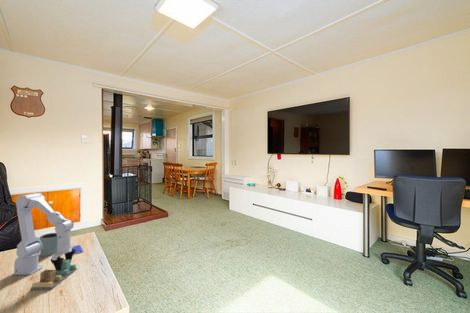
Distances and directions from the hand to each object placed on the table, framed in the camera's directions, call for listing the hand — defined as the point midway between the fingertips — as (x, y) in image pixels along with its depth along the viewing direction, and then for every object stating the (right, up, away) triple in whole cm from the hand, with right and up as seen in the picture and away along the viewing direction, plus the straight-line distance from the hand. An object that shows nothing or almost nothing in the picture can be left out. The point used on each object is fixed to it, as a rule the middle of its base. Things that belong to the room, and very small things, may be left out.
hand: (63, 266), depth 117 cm
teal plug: (0, -3, 0) cm, 3 cm away
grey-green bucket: (-28, -3, +22) cm, 36 cm away
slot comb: (0, -4, -6) cm, 7 cm away
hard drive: (-15, -4, +27) cm, 31 cm away
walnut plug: (+1, -3, -11) cm, 11 cm away
